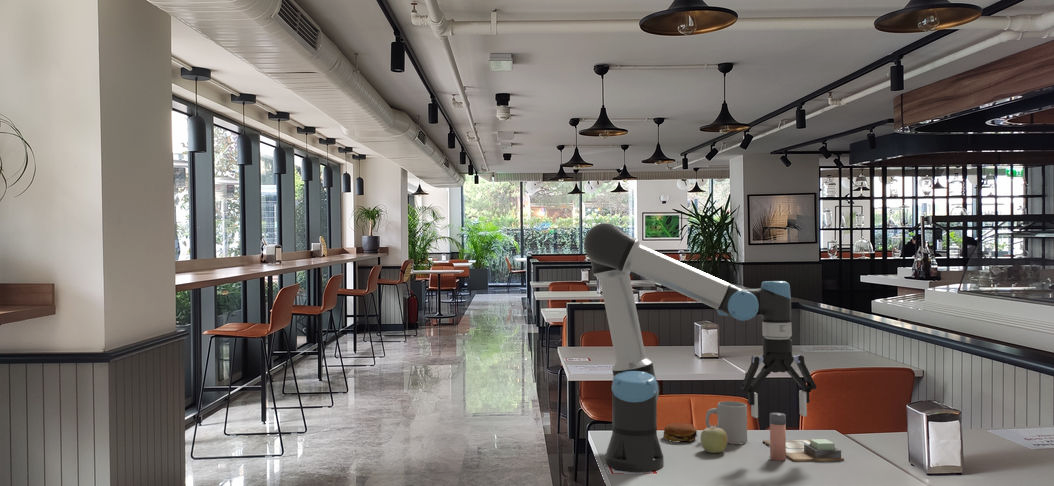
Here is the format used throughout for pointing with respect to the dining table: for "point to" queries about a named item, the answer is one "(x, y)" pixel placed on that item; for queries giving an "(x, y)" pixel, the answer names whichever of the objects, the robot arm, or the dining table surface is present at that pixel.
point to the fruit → (714, 439)
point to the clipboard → (808, 452)
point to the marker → (778, 436)
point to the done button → (822, 444)
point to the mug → (731, 420)
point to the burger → (680, 432)
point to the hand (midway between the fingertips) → (779, 416)
